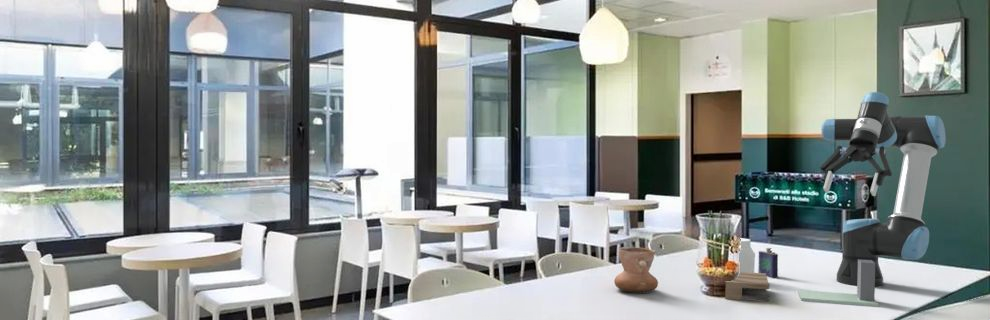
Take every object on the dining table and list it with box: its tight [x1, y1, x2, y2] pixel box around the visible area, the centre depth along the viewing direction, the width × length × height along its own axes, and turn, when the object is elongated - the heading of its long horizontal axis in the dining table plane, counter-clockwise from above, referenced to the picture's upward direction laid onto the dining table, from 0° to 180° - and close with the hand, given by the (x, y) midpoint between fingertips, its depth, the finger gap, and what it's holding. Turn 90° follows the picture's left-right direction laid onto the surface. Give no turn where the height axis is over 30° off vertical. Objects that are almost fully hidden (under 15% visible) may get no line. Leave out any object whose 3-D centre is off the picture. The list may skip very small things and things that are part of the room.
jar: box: [739, 237, 756, 273], centre depth 259 cm, size 12×10×15 cm
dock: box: [724, 272, 770, 302], centre depth 235 cm, size 20×13×6 cm, turn 161°
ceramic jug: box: [613, 246, 659, 294], centre depth 239 cm, size 18×14×14 cm
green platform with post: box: [797, 259, 879, 308], centre depth 228 cm, size 13×22×13 cm, turn 71°
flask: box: [757, 247, 779, 279], centre depth 268 cm, size 9×3×11 cm, turn 21°
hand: (848, 192), depth 214 cm, fingers open, 13 cm apart
